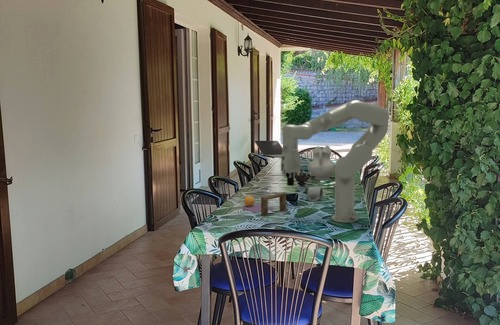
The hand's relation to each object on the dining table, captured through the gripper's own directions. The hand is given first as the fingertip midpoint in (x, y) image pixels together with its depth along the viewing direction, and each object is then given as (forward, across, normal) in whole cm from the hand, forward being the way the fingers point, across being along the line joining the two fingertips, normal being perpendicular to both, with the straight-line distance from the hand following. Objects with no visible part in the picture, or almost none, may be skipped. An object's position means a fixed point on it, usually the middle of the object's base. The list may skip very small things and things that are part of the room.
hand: (290, 185), depth 226 cm
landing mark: (+17, 0, +27) cm, 32 cm away
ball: (+14, -1, +33) cm, 36 cm away
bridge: (+17, 0, +13) cm, 21 cm away
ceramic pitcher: (+17, +88, +59) cm, 107 cm away
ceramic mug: (+17, +38, +19) cm, 46 cm away
